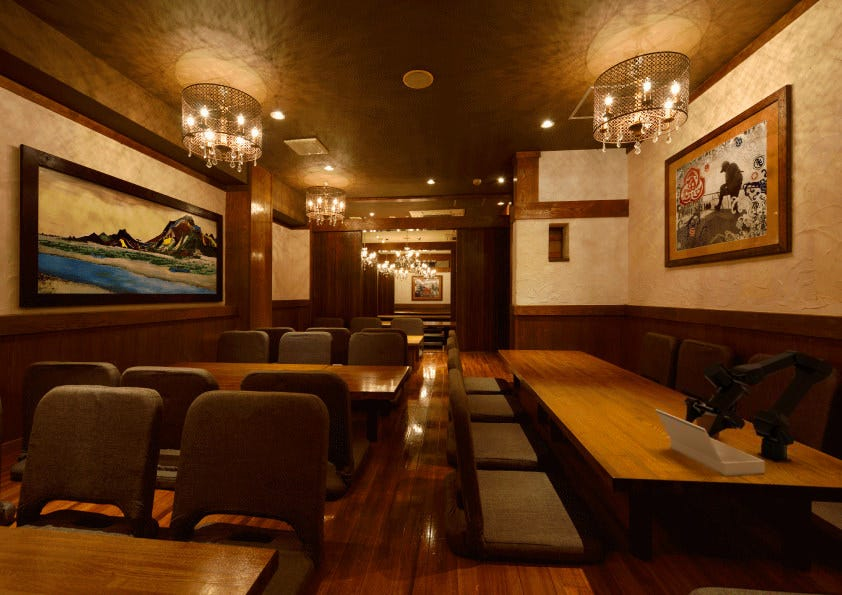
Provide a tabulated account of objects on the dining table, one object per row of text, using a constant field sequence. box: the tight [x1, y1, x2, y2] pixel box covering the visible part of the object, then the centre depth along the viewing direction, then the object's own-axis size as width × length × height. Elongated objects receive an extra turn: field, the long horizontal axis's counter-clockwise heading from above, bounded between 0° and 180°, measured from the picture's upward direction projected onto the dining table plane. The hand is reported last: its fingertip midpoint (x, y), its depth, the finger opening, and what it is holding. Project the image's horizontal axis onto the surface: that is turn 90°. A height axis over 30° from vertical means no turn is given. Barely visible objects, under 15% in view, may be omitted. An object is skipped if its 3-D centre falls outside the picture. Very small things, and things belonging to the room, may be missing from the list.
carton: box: [669, 437, 766, 477], centre depth 130 cm, size 14×22×4 cm, turn 7°
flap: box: [655, 408, 722, 462], centre depth 129 cm, size 12×21×1 cm
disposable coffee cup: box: [695, 403, 720, 441], centre depth 151 cm, size 10×10×12 cm
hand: (697, 430), depth 129 cm, fingers open, 9 cm apart
